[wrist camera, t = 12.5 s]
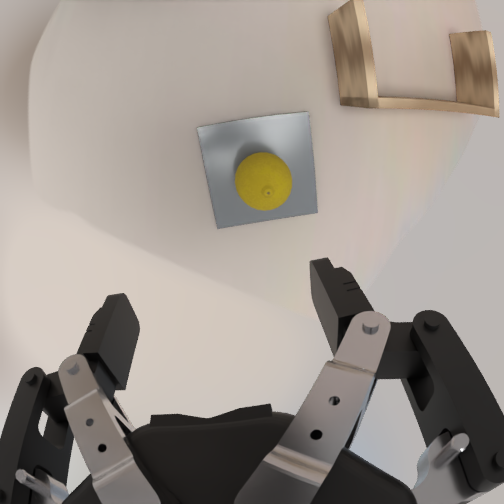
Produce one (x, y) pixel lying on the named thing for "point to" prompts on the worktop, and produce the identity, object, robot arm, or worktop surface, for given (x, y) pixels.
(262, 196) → the lemon
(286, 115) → the slate coaster
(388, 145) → the worktop surface
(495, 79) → the open u-shaped oak frame
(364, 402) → the robot arm
